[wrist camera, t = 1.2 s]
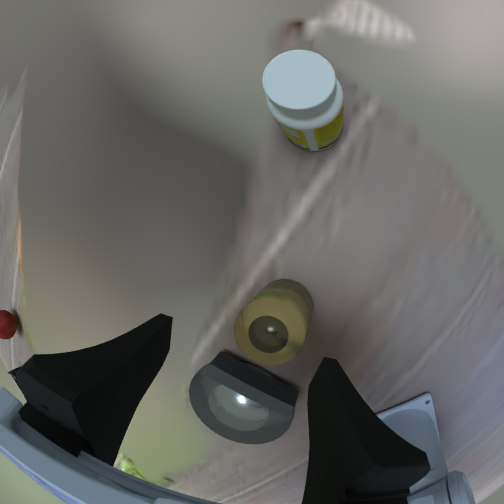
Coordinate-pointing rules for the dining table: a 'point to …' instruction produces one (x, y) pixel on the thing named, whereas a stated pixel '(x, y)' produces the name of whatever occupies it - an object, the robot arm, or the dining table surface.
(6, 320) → the onion
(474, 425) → the dining table surface
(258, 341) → the cylinder
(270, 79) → the supplement bottle
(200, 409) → the flange seat
